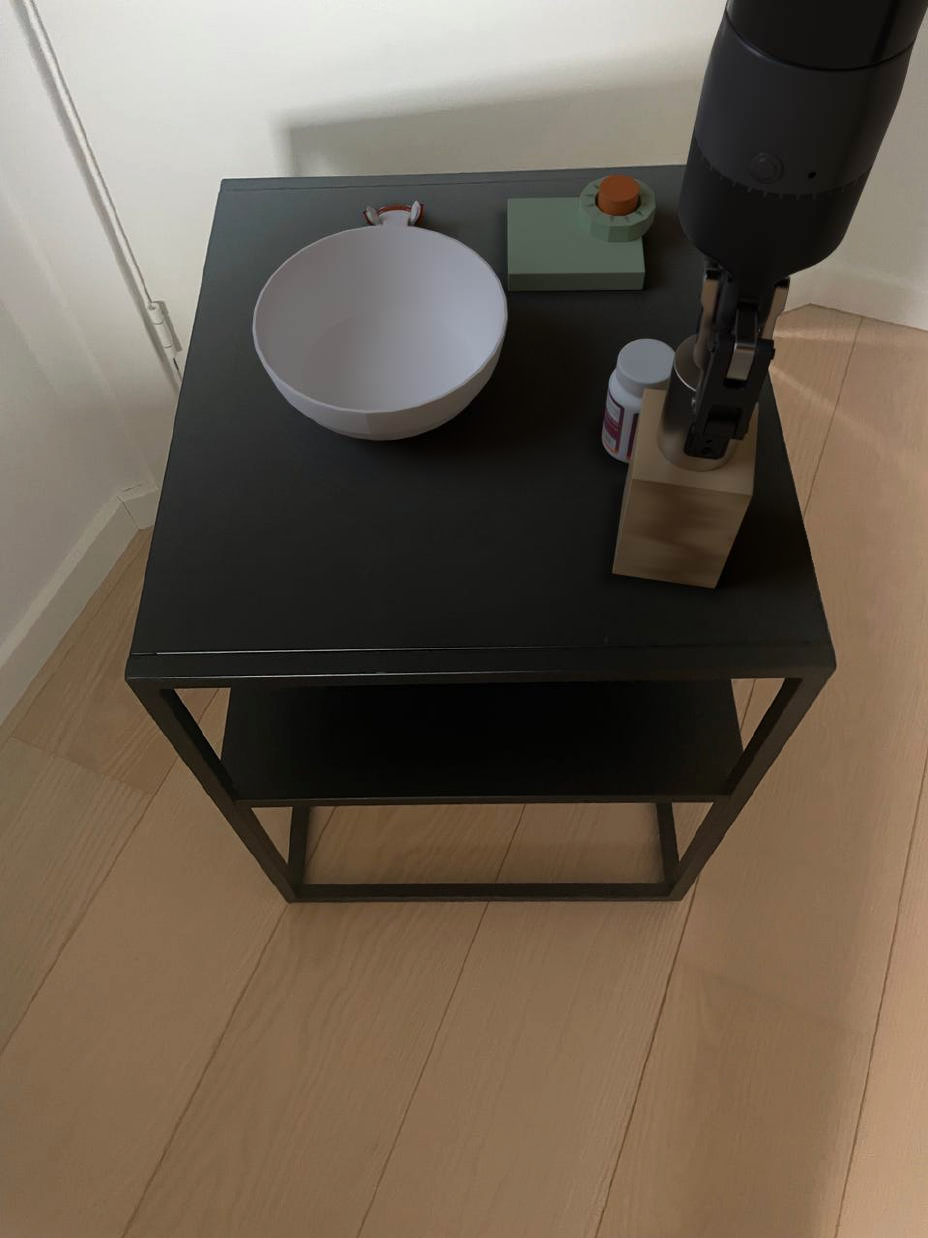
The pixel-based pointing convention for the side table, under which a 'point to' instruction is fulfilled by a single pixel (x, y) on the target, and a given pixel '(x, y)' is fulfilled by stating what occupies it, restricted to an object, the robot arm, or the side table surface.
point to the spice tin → (684, 411)
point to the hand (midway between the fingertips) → (708, 392)
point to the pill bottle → (633, 391)
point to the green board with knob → (576, 243)
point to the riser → (680, 507)
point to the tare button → (618, 195)
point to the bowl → (381, 330)
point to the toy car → (395, 215)
